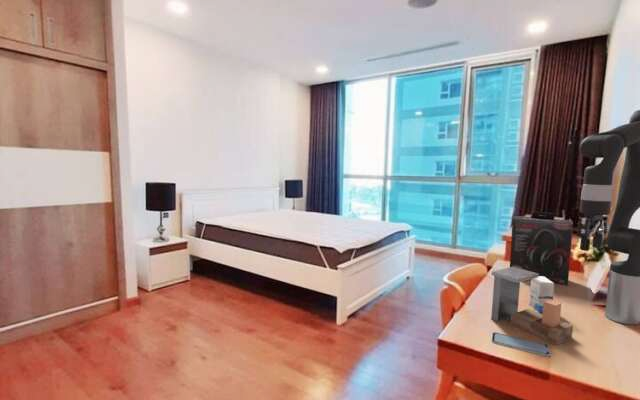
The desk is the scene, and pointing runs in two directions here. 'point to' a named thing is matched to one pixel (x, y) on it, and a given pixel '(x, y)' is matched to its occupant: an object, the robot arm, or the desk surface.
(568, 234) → the headset box
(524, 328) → the socket block
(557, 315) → the peg
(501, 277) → the panel
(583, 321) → the desk surface
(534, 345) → the smartphone
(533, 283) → the ink box
